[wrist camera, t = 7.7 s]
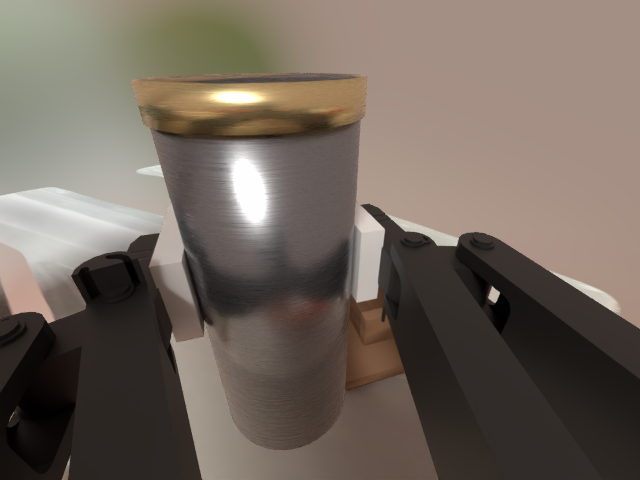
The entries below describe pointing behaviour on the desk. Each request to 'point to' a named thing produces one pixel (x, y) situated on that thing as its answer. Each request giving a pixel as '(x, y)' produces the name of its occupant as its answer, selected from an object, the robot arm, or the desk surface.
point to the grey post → (266, 233)
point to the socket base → (370, 344)
